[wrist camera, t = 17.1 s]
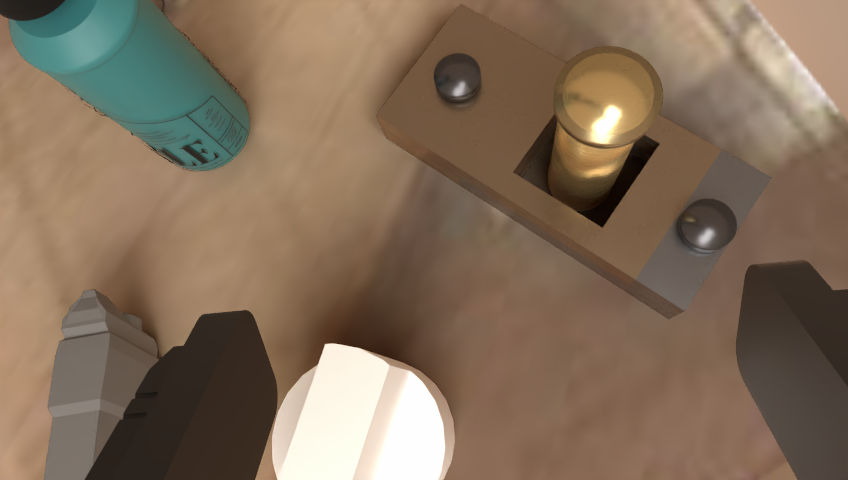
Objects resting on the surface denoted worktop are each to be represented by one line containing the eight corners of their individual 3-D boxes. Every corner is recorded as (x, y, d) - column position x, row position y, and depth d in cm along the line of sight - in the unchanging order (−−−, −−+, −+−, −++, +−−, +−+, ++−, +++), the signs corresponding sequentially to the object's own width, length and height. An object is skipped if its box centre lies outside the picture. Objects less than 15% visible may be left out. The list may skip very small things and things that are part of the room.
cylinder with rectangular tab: (335, 340, 40) (266, 317, 29) (474, 386, 38) (458, 380, 27) (285, 485, 38) (189, 523, 27) (427, 539, 37) (390, 604, 25)
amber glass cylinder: (526, 190, 41) (533, 108, 29) (568, 130, 41) (591, 27, 30) (591, 231, 40) (625, 162, 28) (633, 169, 40) (684, 77, 29)
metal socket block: (386, 138, 43) (372, 108, 38) (464, 34, 44) (459, -6, 40) (668, 319, 38) (689, 308, 33) (748, 197, 39) (779, 171, 35)
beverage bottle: (245, 80, 45) (50, -154, 26) (275, 160, 44) (91, -28, 24) (161, 118, 46) (-94, -88, 26) (188, 199, 44) (-64, 43, 24)
